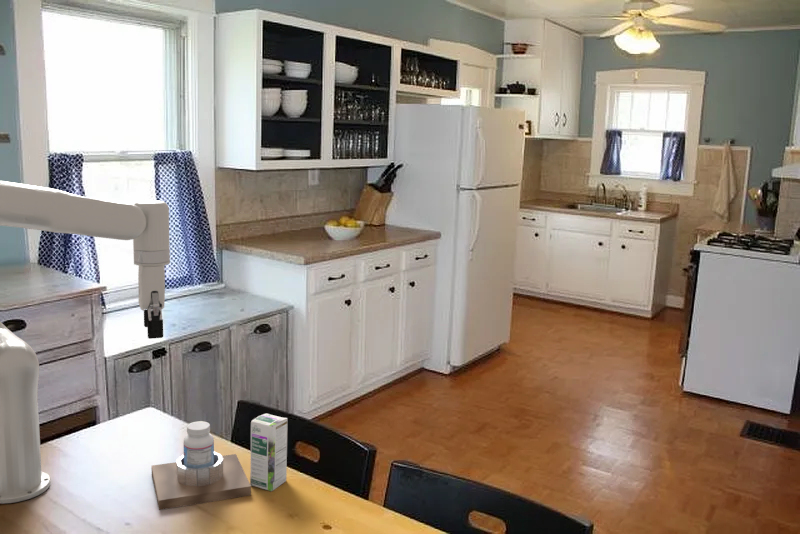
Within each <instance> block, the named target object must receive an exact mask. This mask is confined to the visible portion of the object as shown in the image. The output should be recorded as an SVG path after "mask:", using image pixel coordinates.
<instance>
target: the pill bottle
mask: <svg viewBox="0 0 800 534" xmlns="http://www.w3.org/2000/svg"><path fill="white" fill-rule="evenodd" d="M210 431H211V424H210V423H209V422H207V421H202V420H200V421H193V422H190V423H188V424H187V426H186V432H187V434H186V436H185V437H184V438H183V455H184V466H185V467H188V468H197V469H198V468H205V467H209V466H212V465H214V452H215V447H214V445H215V440H214V439H215V438H214V436H213V435H212V434H211V433H210Z"/></svg>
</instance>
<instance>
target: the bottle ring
mask: <svg viewBox="0 0 800 534" xmlns="http://www.w3.org/2000/svg"><path fill="white" fill-rule="evenodd" d="M222 456H223V455H222V454H221V453H219V452H216V451H214V465H212V466H209V467H205V468H198V469H197V468H188V467H185V466H184V454H182V455H181V456H179V457H178V458H177V459H176V460H175V462H176V470H177V480H178V482H180V483H182V484H184V485H187V486H204V485H209V484H212V483H214V482H216V481H219V480H220V479H221V477H222V476H223V458H222Z"/></svg>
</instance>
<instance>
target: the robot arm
mask: <svg viewBox="0 0 800 534" xmlns="http://www.w3.org/2000/svg"><path fill="white" fill-rule="evenodd" d="M0 226H1V227H11V228H20V229H26V230H27V229H28V230H36V231H43V232H51V233H57V234H69V235H70V234H71V235H80V236H86V237H93V238H102V239H109V240H111V239H112V240H118V241H119V240H120V241H131V240H132V242H133V243H132V245H133V249H132V250H133V265H134V266H138V272H137V273H138V274H137V275H138V278H137V280H138V305H139V308H140V310H141V311H142V312H143V326H144V327H145V328H147V339H161V338H162V339H163V337H164V319H163V313H162V312H163V311H162V310H163V309H164V308H165V302H166V301H165V296H166V294H165V293H166V292H165V291H166V289H165V288H166V286H165V284H166V276H165V274H166V273H165V266H168V265H169V264H170V263H171V261H170V260H171V259H170V258H171V255H170V254H171V253H170V252H171V251H170V209H169V205H168V204H167V203H166V202H165V201H163V200H156V199H155V200H153V199H147V200H145V199H144V200H138V201H128V200H127V201H126V200H125V201H124V200H115V199H107V200H104V199H98V198H92V197H89V196H87V197H86V196H82V195H78V194H74V193H69V192H67V191H64V190H59V189H56V188H51V187H46V186H45V187H44V186H37V185H34V184H33V185H31V184H25V183H18V182H11V181H5V180H0ZM39 379H40V362H39V359H38V356H37V353H36V351H35V350H34V349H33V348H32V347H31V345H30V344H28V343H27V341H25V340H23V339H22V338H20V337H19V336H17V334H15V333H14V332H12V331H11V330H10V329H9V328H7V327H6V325H5V324H3V323H2V322H1V321H0V504H12V503H19V502H24V501H26V500H30V499H33V498H35V497H37V496H39V495H41V494H43V493H44V492H45V491H46V490H48V489H49V488H50V486H51V477H50V474H48V473H47V472H44V471H42V456H41V455H42V453H41V439H40V438H41V437H40V435H41V434H40V417H39V402H38V400H39V399H38V397H39V395H38V392H39V391H38V390H39Z"/></svg>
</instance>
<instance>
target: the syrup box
mask: <svg viewBox="0 0 800 534" xmlns="http://www.w3.org/2000/svg"><path fill="white" fill-rule="evenodd" d="M287 457H288V417H283V416H282V417H281V416H277V415H273V414H270V413H263V414H261V415H258V416H257V417H254V418H253V419H252V420H251V422H250V477H249V480H250V481H249V483H250V485H251V487H255V488H260V489H262V490H266V491H269V492H273V491H275V490H276V489H277V488H279V487H280V486H282V484H284V483H286V481H287V468H288V467H287V466H288V465H287V463H288V462H287V460H288V459H287Z"/></svg>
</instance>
